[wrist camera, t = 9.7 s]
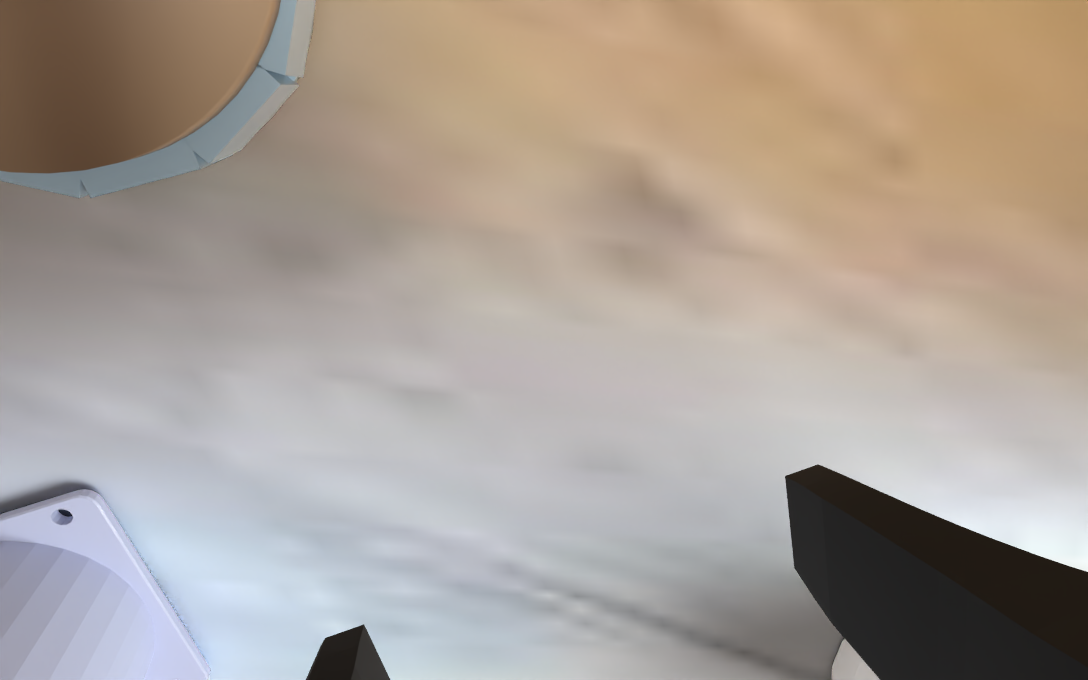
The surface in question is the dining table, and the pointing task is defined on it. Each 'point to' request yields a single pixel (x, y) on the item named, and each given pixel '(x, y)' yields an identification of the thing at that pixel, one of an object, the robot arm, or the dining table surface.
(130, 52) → the lid
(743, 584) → the dining table surface
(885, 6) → the dining table surface
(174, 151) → the bowl
